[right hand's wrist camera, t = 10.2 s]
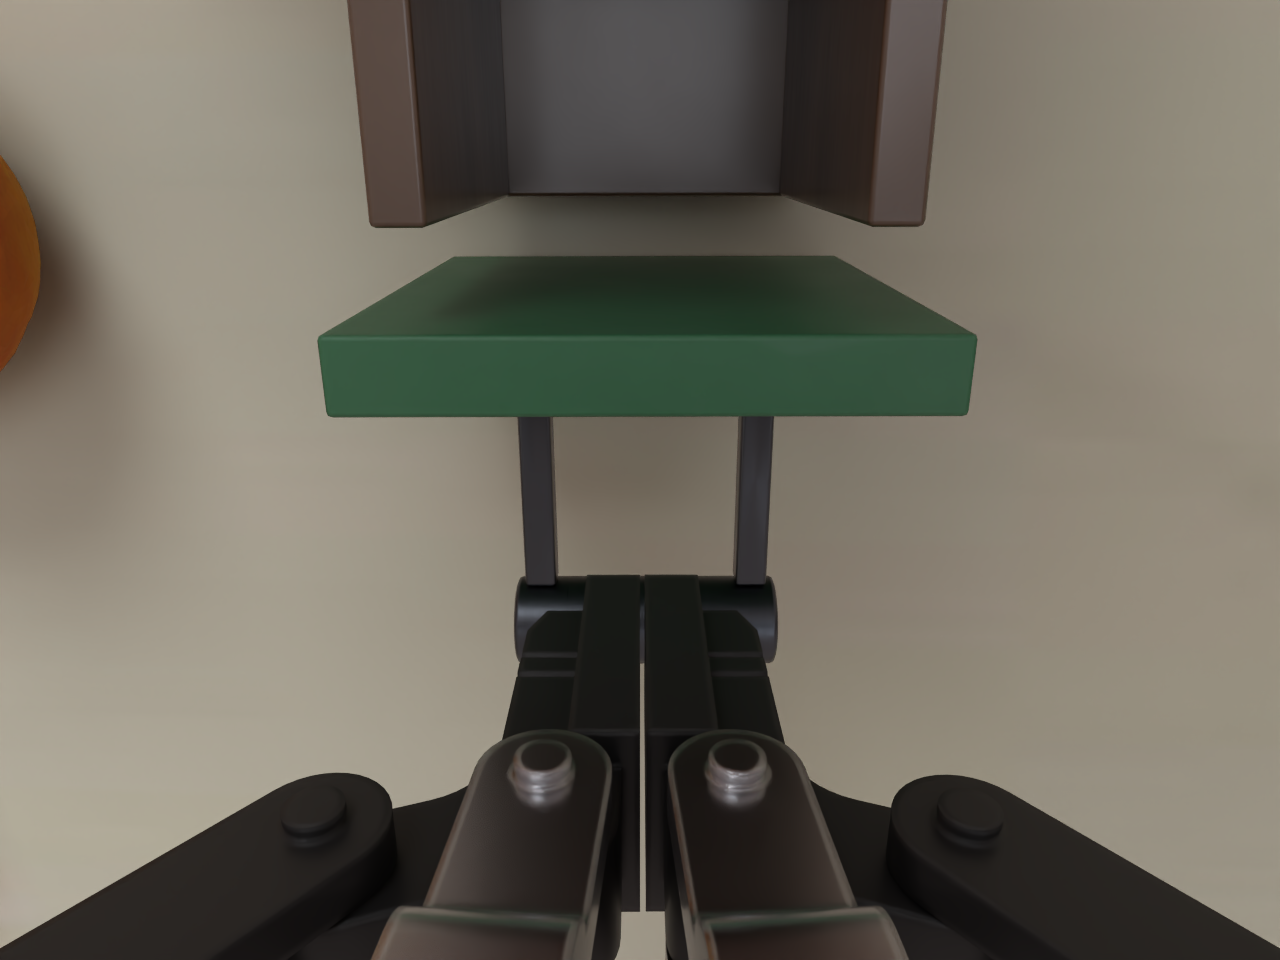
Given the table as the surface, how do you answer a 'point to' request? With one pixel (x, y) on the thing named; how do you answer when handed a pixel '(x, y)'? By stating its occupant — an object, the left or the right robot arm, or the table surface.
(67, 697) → the table surface
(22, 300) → the fruit
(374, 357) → the drawer
